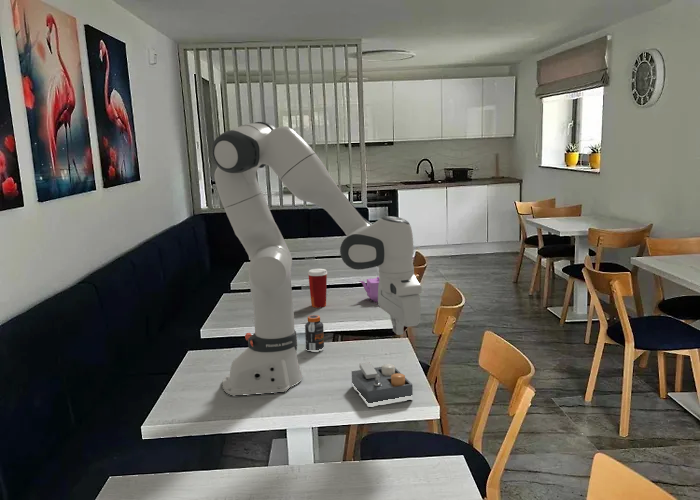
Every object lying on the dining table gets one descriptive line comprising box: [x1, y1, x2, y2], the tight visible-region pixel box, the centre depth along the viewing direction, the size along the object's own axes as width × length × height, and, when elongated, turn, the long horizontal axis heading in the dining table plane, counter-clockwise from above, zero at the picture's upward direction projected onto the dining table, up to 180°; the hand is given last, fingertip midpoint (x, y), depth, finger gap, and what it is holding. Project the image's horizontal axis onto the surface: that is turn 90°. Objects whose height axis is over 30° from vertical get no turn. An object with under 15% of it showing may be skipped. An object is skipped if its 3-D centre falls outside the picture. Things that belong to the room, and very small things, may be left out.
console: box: [351, 366, 413, 403], centre depth 153 cm, size 12×14×8 cm
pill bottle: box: [304, 314, 325, 351], centre depth 187 cm, size 6×6×11 cm
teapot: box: [358, 276, 379, 303], centre depth 246 cm, size 18×13×10 cm
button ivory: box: [381, 363, 396, 376], centre depth 157 cm, size 4×4×4 cm
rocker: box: [359, 361, 377, 379], centre depth 155 cm, size 3×6×1 cm, turn 17°
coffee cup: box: [307, 268, 328, 309], centre depth 238 cm, size 8×8×15 cm
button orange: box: [391, 372, 406, 386], centre depth 151 cm, size 4×4×4 cm
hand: (398, 333), depth 148 cm, fingers closed
